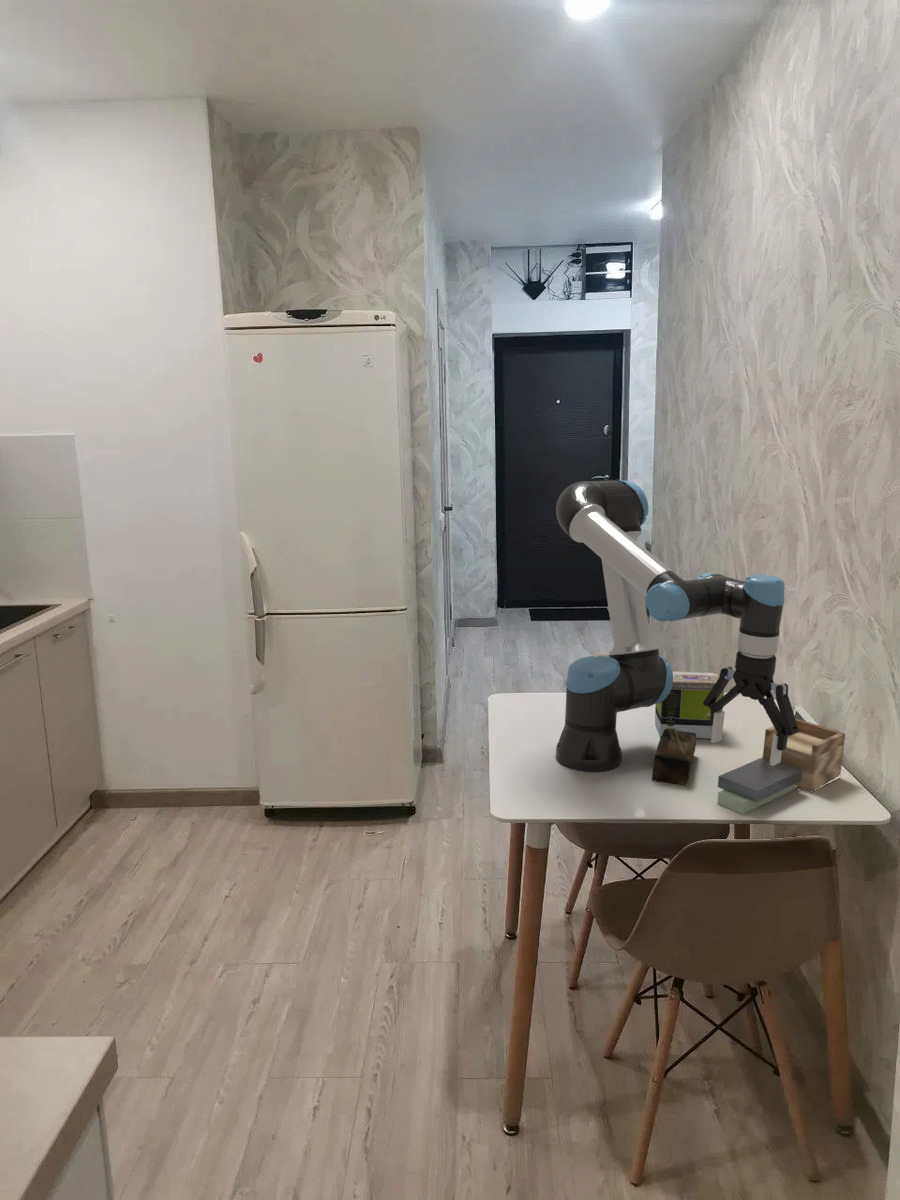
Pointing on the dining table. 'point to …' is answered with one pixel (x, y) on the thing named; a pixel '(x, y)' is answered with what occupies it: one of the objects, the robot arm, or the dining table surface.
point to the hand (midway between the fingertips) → (744, 752)
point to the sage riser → (746, 800)
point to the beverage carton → (674, 757)
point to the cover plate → (759, 779)
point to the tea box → (687, 704)
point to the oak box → (811, 753)
